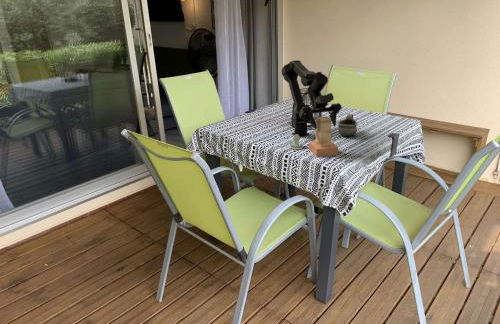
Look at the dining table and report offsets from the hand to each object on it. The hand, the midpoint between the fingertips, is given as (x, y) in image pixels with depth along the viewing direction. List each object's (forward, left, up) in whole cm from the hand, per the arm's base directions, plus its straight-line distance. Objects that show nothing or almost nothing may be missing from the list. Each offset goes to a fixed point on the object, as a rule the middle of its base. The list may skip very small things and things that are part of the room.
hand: (325, 127), depth 162 cm
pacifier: (-13, -6, -12) cm, 19 cm away
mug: (-12, +26, -12) cm, 32 cm away
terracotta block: (-1, 0, -12) cm, 13 cm away
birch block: (-1, 0, -8) cm, 9 cm away
